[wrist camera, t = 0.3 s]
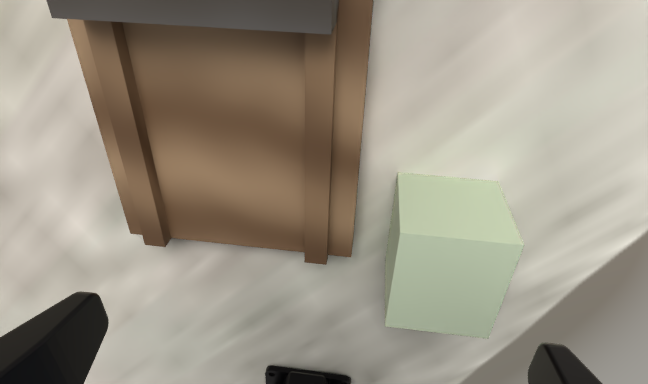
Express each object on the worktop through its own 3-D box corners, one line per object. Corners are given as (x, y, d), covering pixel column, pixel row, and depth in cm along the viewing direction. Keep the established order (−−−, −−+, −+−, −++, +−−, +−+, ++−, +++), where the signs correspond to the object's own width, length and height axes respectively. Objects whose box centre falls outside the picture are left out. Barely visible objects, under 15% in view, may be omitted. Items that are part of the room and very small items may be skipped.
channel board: (352, 243, 25) (347, 290, 21) (140, 221, 26) (106, 262, 23) (375, -26, 17) (372, -11, 14) (69, -40, 18) (3, -30, 15)
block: (471, 266, 25) (488, 338, 20) (385, 257, 25) (384, 326, 21) (497, 180, 21) (524, 245, 17) (397, 171, 22) (400, 232, 18)
